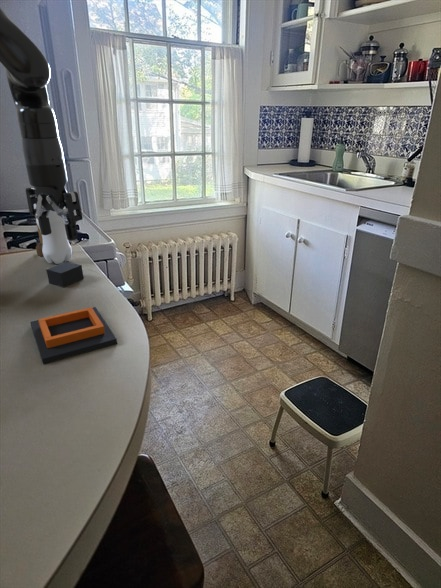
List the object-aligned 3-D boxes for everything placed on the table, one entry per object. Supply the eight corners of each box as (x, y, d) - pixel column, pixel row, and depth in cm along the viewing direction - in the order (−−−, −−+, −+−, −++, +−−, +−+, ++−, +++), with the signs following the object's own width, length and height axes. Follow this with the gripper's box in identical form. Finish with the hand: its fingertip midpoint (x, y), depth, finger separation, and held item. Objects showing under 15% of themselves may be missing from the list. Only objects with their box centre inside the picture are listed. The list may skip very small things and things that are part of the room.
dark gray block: (63, 287, 89) (61, 273, 87) (48, 283, 91) (46, 269, 90) (83, 278, 94) (81, 265, 92) (69, 274, 96) (67, 261, 94)
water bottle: (56, 267, 100) (37, 165, 89) (38, 262, 103) (18, 163, 93) (79, 259, 106) (63, 162, 95) (61, 254, 109) (44, 160, 98)
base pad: (43, 364, 62) (40, 351, 61) (31, 326, 73) (28, 314, 72) (117, 343, 68) (115, 331, 67) (96, 311, 78) (94, 300, 77)
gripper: (6, 161, 81) (24, 237, 88) (53, 165, 75) (68, 246, 81) (38, 157, 87) (52, 229, 94) (83, 161, 80) (95, 237, 87)
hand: (59, 237), depth 88 cm, fingers open, 8 cm apart
